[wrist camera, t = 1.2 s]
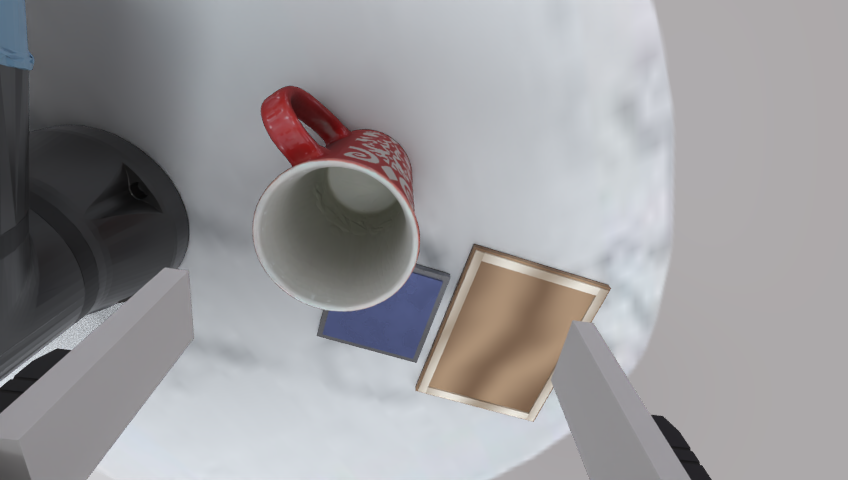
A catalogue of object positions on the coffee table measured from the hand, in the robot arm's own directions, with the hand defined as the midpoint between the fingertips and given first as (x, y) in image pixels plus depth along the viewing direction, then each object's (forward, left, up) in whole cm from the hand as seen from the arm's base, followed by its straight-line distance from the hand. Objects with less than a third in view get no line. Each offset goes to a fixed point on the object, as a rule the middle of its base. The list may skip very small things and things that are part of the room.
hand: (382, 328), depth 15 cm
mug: (-4, 0, -22) cm, 23 cm away
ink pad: (+1, -13, -22) cm, 26 cm away
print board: (+14, -13, -22) cm, 29 cm away
